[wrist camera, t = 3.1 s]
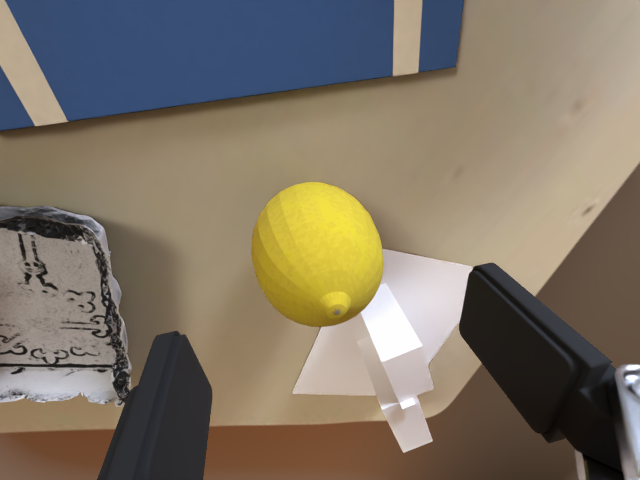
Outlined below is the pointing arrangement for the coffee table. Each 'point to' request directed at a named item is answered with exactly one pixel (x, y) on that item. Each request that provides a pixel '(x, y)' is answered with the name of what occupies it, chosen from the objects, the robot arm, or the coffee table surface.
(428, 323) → the white building model
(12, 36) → the blue cloth
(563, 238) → the coffee table surface
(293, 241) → the lemon
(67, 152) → the coffee table surface
